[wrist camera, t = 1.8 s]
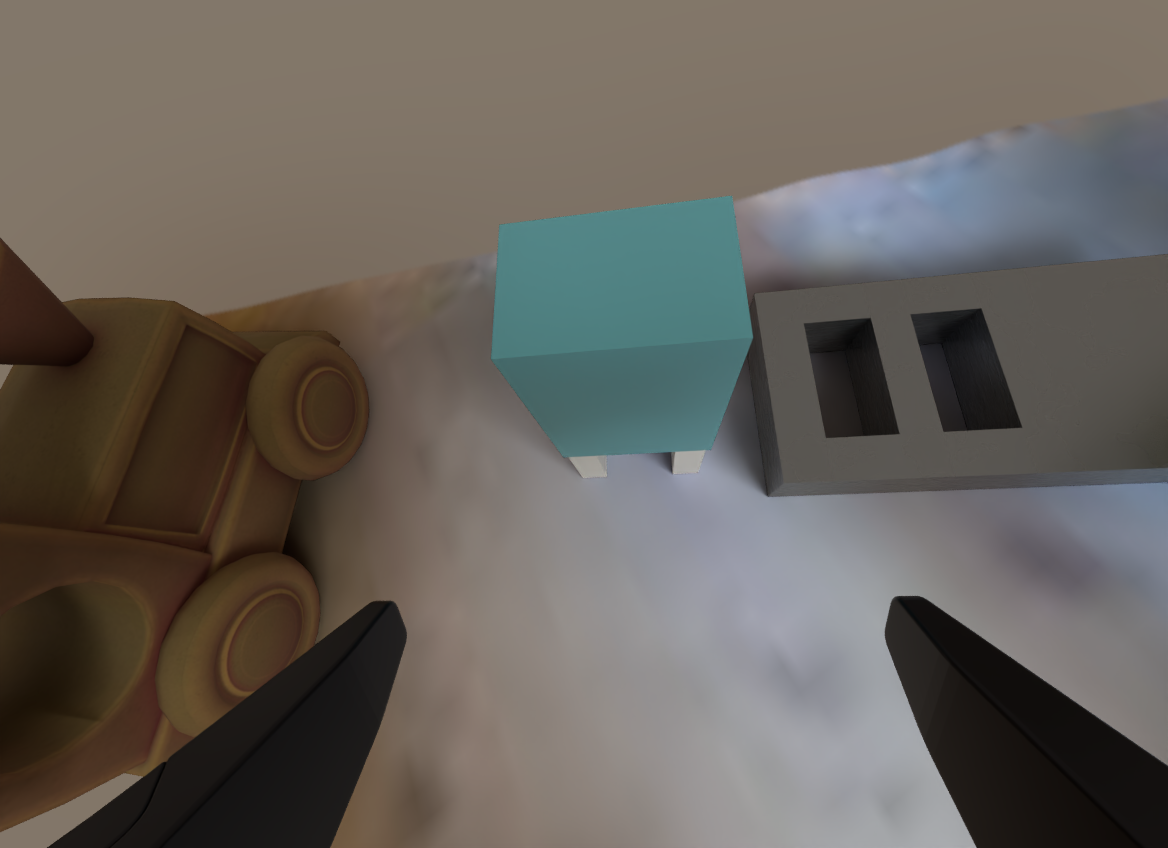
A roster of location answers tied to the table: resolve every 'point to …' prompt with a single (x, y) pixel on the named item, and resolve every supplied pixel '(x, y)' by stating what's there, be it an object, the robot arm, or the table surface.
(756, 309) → the grey block with holes
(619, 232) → the clip
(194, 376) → the wooden toy train
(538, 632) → the table surface
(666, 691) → the table surface
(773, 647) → the table surface
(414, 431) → the table surface
